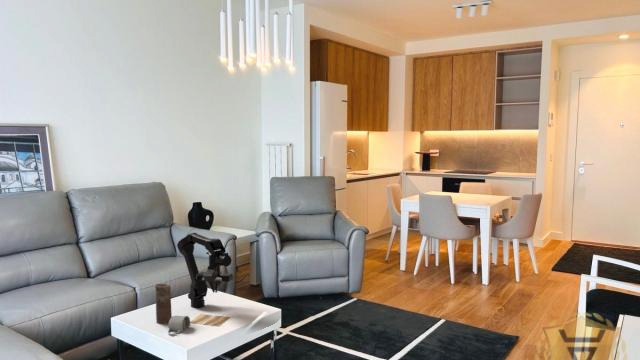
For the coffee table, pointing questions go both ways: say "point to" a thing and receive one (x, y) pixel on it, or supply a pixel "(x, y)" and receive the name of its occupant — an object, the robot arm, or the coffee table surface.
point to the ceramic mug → (178, 324)
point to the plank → (201, 319)
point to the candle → (163, 303)
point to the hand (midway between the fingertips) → (215, 292)
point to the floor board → (217, 321)
